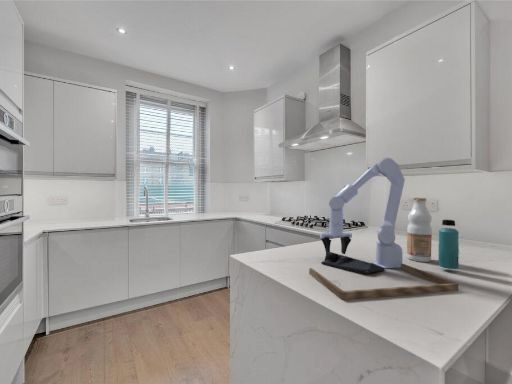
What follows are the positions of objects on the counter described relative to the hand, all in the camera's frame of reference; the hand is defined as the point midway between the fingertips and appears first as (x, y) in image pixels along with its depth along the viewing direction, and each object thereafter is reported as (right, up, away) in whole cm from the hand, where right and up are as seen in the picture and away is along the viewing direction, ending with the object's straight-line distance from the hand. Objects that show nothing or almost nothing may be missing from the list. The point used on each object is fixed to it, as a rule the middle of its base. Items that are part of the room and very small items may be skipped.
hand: (335, 253), depth 114 cm
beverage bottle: (+40, -3, -14) cm, 42 cm away
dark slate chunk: (+3, -3, -11) cm, 11 cm away
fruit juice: (+38, -3, +2) cm, 39 cm away
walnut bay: (+6, -3, -27) cm, 28 cm away
